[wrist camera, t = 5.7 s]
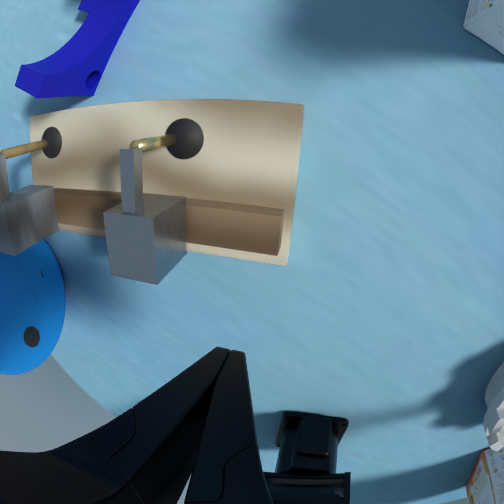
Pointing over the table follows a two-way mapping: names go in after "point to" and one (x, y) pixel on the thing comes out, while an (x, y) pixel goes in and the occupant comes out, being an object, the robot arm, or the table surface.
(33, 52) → the table surface
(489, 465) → the cracker box
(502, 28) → the ink cartridge box
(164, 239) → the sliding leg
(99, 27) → the blue cradle bracket
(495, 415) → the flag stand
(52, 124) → the hole plate
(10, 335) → the alarm clock
